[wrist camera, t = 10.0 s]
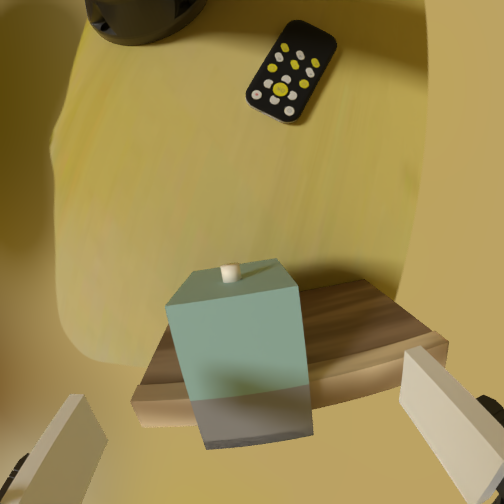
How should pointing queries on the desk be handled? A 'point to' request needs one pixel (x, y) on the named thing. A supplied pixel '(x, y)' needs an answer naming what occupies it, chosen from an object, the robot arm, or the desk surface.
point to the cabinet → (243, 354)
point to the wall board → (312, 353)
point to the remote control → (291, 71)
